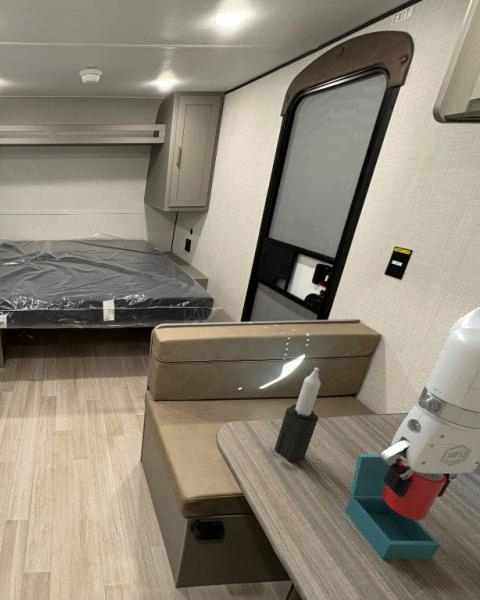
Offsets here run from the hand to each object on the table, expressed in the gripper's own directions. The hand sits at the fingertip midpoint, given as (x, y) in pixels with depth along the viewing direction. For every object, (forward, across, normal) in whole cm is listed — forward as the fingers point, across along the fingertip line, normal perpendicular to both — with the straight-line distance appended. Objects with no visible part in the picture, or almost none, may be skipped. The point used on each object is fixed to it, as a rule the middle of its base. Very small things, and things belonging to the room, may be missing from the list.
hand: (411, 488), depth 55 cm
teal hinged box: (+13, -1, 0) cm, 13 cm away
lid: (+3, 0, +5) cm, 6 cm away
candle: (+13, -8, +18) cm, 24 cm away
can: (+4, 0, 0) cm, 4 cm away
